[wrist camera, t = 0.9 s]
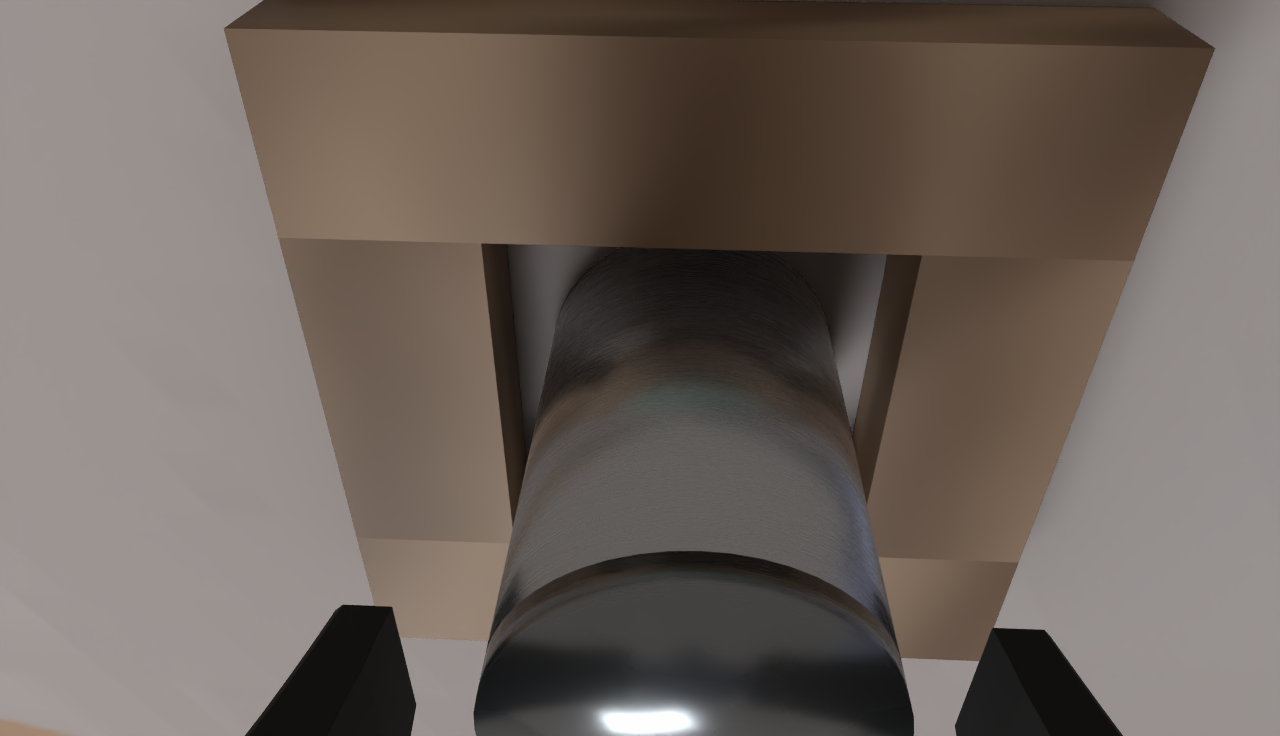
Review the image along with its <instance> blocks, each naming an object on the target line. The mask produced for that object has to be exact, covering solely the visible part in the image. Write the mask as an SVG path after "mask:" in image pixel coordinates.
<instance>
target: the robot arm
mask: <svg viewBox="0 0 1280 736" xmlns="http://www.w3.org/2000/svg"><path fill="white" fill-rule="evenodd" d="M415 709H416V702H415V698H414V694H413V690H412V686H411V682H410V678H409V673H408V669H407V665H406V661H405V657H404V653H403V649H402V645H401V641H400V636H399V632H398V628H397V624H396V620H395V616H394V612H393V608H392V607H390V606H362V605H342V606H341V607H339V608H338V609H337V610H335V612H334V613H333V615H332V616H331V618H330V619H329V621H328V622H327V623H326V625H325V626H324V628H323V629H322V631H321V632H320V634H319V635H318V637H317V638H316V639H315V641H314V642H313V644H312V645H311V647H310V648H309V649H308V651H307V652H306V654H305V655H304V657H303V658H302V659H301V661H300V662H299V664H298V665H297V666H296V668H295V669H294V671H293V672H292V673H291V675H290V676H289V678H288V679H287V680H286V682H285V683H284V684H283V686H282V687H281V689H280V690H279V691H278V693H277V694H276V695H275V697H274V698H273V699H272V701H271V702H270V703H269V705H268V706H267V708H266V709H265V710H264V712H263V713H262V714H261V716H260V717H259V718H258V720H257V721H256V722H255V723H254V725H253V726H252V727H251V729H250V730H249V731H248V732H247V734H246V735H245V736H411V731H412V725H413V720H414V714H415ZM955 729H956V735H957V736H1123V735H1122V734H1121V732H1120V731H1119V730H1118V728H1117V727H1116V726H1115V724H1114V723H1113V722H1112V720H1111V719H1110V718H1109V716H1108V715H1107V714H1106V712H1105V711H1104V710H1103V708H1102V707H1101V706H1100V704H1099V703H1098V702H1097V700H1096V699H1095V697H1094V696H1093V695H1092V693H1091V692H1090V691H1089V689H1088V688H1087V686H1086V685H1085V684H1084V682H1083V681H1082V680H1081V678H1080V677H1079V675H1078V674H1077V673H1076V671H1075V670H1074V669H1073V667H1072V666H1071V664H1070V663H1069V662H1068V660H1067V659H1066V657H1065V656H1064V655H1063V653H1062V652H1061V650H1060V649H1059V648H1058V646H1057V645H1056V644H1055V642H1054V641H1053V639H1052V638H1051V637H1050V636H1049V635H1048V633H1047V632H1046V631H1045V630H1033V629H1005V628H992V630H991V632H990V635H989V638H988V640H987V643H986V646H985V648H984V651H983V653H982V656H981V659H980V661H979V664H978V667H977V669H976V672H975V674H974V677H973V680H972V682H971V685H970V688H969V690H968V693H967V696H966V698H965V701H964V703H963V706H962V709H961V711H960V714H959V717H958V719H957V722H956V724H955Z"/></svg>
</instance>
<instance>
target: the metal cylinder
mask: <svg viewBox="0 0 1280 736" xmlns="http://www.w3.org/2000/svg"><path fill="white" fill-rule="evenodd" d="M474 726H475V732H476V735H477V736H913V735H914V716H913V711H912V707H911V702H910V698H909V693H908V689H907V684H906V680H905V675H904V671H903V666H902V661H901V657H900V652H899V648H898V643H897V639H896V634H895V630H894V625H893V621H892V616H891V612H890V607H889V602H888V598H887V593H886V589H885V584H884V580H883V575H882V571H881V566H880V562H879V557H878V553H877V548H876V544H875V539H874V534H873V530H872V525H871V521H870V516H869V512H868V507H867V503H866V498H865V494H864V489H863V485H862V480H861V475H860V471H859V466H858V462H857V457H856V453H855V448H854V444H853V439H852V435H851V430H850V426H849V421H848V416H847V412H846V407H845V403H844V398H843V394H842V389H841V385H840V380H839V376H838V371H837V367H836V362H835V358H834V353H833V348H832V344H831V339H830V335H829V330H828V326H827V322H826V318H825V314H824V312H823V310H822V307H821V305H820V303H819V300H818V299H817V297H816V295H815V294H814V292H813V291H812V289H811V288H810V286H809V285H808V284H807V283H806V281H805V280H804V279H803V278H802V277H801V276H800V274H799V273H798V272H796V271H795V270H794V269H793V268H792V267H791V266H789V265H788V264H787V263H786V262H785V261H783V260H782V259H780V258H779V257H777V256H776V255H774V254H772V253H771V252H769V251H746V250H709V249H672V248H635V247H623V248H621V249H619V250H617V251H616V252H614V253H612V254H610V255H609V256H607V257H605V258H604V259H603V260H601V261H600V262H599V263H597V264H596V265H595V266H593V267H592V268H591V269H590V270H589V271H588V272H587V273H586V274H585V275H584V276H583V277H582V278H581V279H580V280H579V281H578V283H577V284H576V285H575V287H574V288H573V289H572V291H571V292H570V294H569V295H568V297H567V299H566V301H565V303H564V305H563V307H562V309H561V312H560V315H559V318H558V321H557V325H556V330H555V335H554V339H553V344H552V349H551V353H550V358H549V362H548V367H547V372H546V376H545V381H544V386H543V390H542V395H541V400H540V404H539V409H538V413H537V418H536V423H535V427H534V432H533V437H532V441H531V446H530V451H529V455H528V460H527V464H526V469H525V474H524V478H523V483H522V488H521V492H520V497H519V502H518V506H517V511H516V515H515V520H514V525H513V529H512V534H511V539H510V543H509V548H508V553H507V557H506V562H505V566H504V571H503V576H502V580H501V585H500V590H499V594H498V599H497V604H496V608H495V613H494V617H493V622H492V627H491V631H490V636H489V641H488V645H487V650H486V655H485V659H484V664H483V668H482V673H481V678H480V682H479V687H478V692H477V696H476V702H475V708H474Z"/></svg>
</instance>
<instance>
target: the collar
mask: <svg viewBox="0 0 1280 736" xmlns="http://www.w3.org/2000/svg"><path fill="white" fill-rule="evenodd" d="M224 31H225V35H226V39H227V43H228V46H229V50H230V54H231V58H232V62H233V65H234V69H235V73H236V77H237V81H238V85H239V88H240V92H241V96H242V100H243V104H244V108H245V111H246V115H247V119H248V123H249V127H250V130H251V134H252V138H253V142H254V146H255V150H256V153H257V157H258V161H259V165H260V169H261V173H262V176H263V180H264V184H265V188H266V192H267V195H268V199H269V203H270V207H271V211H272V215H273V218H274V222H275V226H276V230H277V234H278V238H279V241H280V245H281V249H282V253H283V257H284V260H285V264H286V268H287V272H288V276H289V280H290V283H291V287H292V291H293V295H294V299H295V303H296V306H297V310H298V314H299V318H300V322H301V325H302V329H303V333H304V337H305V341H306V345H307V348H308V352H309V356H310V360H311V364H312V368H313V371H314V375H315V379H316V383H317V387H318V391H319V394H320V398H321V402H322V406H323V410H324V413H325V417H326V421H327V425H328V429H329V433H330V436H331V440H332V444H333V448H334V452H335V456H336V459H337V463H338V467H339V471H340V475H341V478H342V482H343V486H344V490H345V494H346V498H347V501H348V505H349V509H350V513H351V517H352V521H353V524H354V528H355V532H356V536H357V540H358V543H359V547H360V551H361V555H362V559H363V563H364V566H365V570H366V574H367V578H368V582H369V586H370V589H371V593H372V597H373V601H374V605H375V606H390V607H392V608H393V612H394V616H395V620H396V624H397V628H398V632H399V636H400V637H402V638H427V639H451V640H476V641H489V636H490V631H491V627H492V622H493V617H494V613H495V608H496V604H497V599H498V594H499V590H500V585H501V580H502V576H503V571H504V566H505V562H506V557H507V553H508V548H509V543H510V539H511V534H512V529H513V525H514V520H515V515H516V511H517V506H518V502H519V497H520V492H521V488H522V483H523V478H524V474H525V469H526V464H527V461H526V451H525V440H524V429H523V418H522V407H521V396H520V385H519V375H518V364H517V353H516V342H515V331H514V320H513V309H512V299H511V288H510V277H509V266H508V255H507V244H525V245H562V246H598V247H635V248H672V249H709V250H746V251H783V252H820V253H857V254H888V258H887V263H886V268H885V273H884V278H883V283H882V288H881V293H880V299H879V304H878V309H877V314H876V319H875V324H874V329H873V334H872V340H871V345H870V350H869V355H868V360H867V365H866V370H865V375H864V381H863V386H862V391H861V396H860V401H859V406H858V411H857V417H856V422H855V427H854V432H853V437H852V439H853V444H854V448H855V453H856V457H857V462H858V466H859V471H860V475H861V480H862V485H863V489H864V494H865V498H866V503H867V507H868V512H869V516H870V521H871V525H872V530H873V534H874V539H875V544H876V548H877V553H878V557H879V562H880V566H881V571H882V575H883V580H884V584H885V589H886V593H887V598H888V602H889V607H890V612H891V616H892V621H893V625H894V630H895V634H896V639H897V643H898V648H899V652H900V657H901V658H918V659H943V660H967V661H980V659H981V656H982V653H983V651H984V648H985V646H986V643H987V640H988V638H989V635H990V632H991V630H992V628H994V625H995V623H996V620H997V617H998V615H999V612H1000V610H1001V607H1002V604H1003V602H1004V599H1005V597H1006V594H1007V591H1008V589H1009V586H1010V583H1011V581H1012V578H1013V576H1014V573H1015V570H1016V568H1017V565H1018V563H1019V560H1020V557H1021V555H1022V552H1023V549H1024V547H1025V544H1026V542H1027V539H1028V536H1029V534H1030V531H1031V528H1032V526H1033V523H1034V521H1035V518H1036V515H1037V513H1038V510H1039V508H1040V505H1041V502H1042V500H1043V497H1044V494H1045V492H1046V489H1047V487H1048V484H1049V481H1050V479H1051V476H1052V474H1053V471H1054V468H1055V466H1056V463H1057V460H1058V458H1059V455H1060V453H1061V450H1062V447H1063V445H1064V442H1065V439H1066V437H1067V434H1068V432H1069V429H1070V426H1071V424H1072V421H1073V419H1074V416H1075V413H1076V411H1077V408H1078V405H1079V403H1080V400H1081V398H1082V395H1083V392H1084V390H1085V387H1086V385H1087V382H1088V379H1089V377H1090V374H1091V371H1092V369H1093V366H1094V364H1095V361H1096V358H1097V356H1098V353H1099V350H1100V348H1101V345H1102V343H1103V340H1104V337H1105V335H1106V332H1107V330H1108V327H1109V324H1110V322H1111V319H1112V316H1113V314H1114V311H1115V309H1116V306H1117V303H1118V301H1119V298H1120V296H1121V293H1122V290H1123V288H1124V285H1125V282H1126V280H1127V277H1128V275H1129V272H1130V269H1131V267H1132V264H1133V261H1134V259H1135V256H1136V254H1137V251H1138V248H1139V246H1140V243H1141V241H1142V238H1143V235H1144V233H1145V230H1146V227H1147V225H1148V222H1149V220H1150V217H1151V214H1152V212H1153V209H1154V207H1155V204H1156V201H1157V199H1158V196H1159V193H1160V191H1161V188H1162V186H1163V183H1164V180H1165V178H1166V175H1167V173H1168V170H1169V167H1170V165H1171V162H1172V159H1173V157H1174V154H1175V152H1176V149H1177V146H1178V144H1179V141H1180V138H1181V136H1182V133H1183V131H1184V128H1185V125H1186V123H1187V120H1188V118H1189V115H1190V112H1191V110H1192V107H1193V104H1194V102H1195V99H1196V97H1197V94H1198V91H1199V89H1200V86H1201V84H1202V81H1203V78H1204V76H1205V73H1206V70H1207V68H1208V65H1209V63H1210V60H1211V57H1212V55H1213V52H1214V49H1215V48H1214V47H1212V46H1211V45H1209V44H1208V43H1206V42H1205V41H1203V40H1202V39H1200V38H1199V37H1197V36H1196V35H1194V34H1193V33H1191V32H1190V31H1188V30H1187V29H1185V28H1184V27H1182V26H1180V25H1179V24H1177V23H1176V22H1174V21H1173V20H1171V19H1170V18H1168V17H1167V16H1165V15H1164V14H1162V13H1161V12H1159V11H1158V10H1156V9H1155V8H1116V7H1062V6H1009V5H955V4H902V3H848V2H795V1H741V0H263V1H262V2H261V3H259V4H258V5H256V6H255V7H254V8H252V9H251V10H249V11H248V12H246V13H245V14H244V15H242V16H241V17H239V18H238V19H237V20H235V21H234V22H232V23H231V24H229V25H228V26H227V27H225V28H224Z"/></svg>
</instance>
